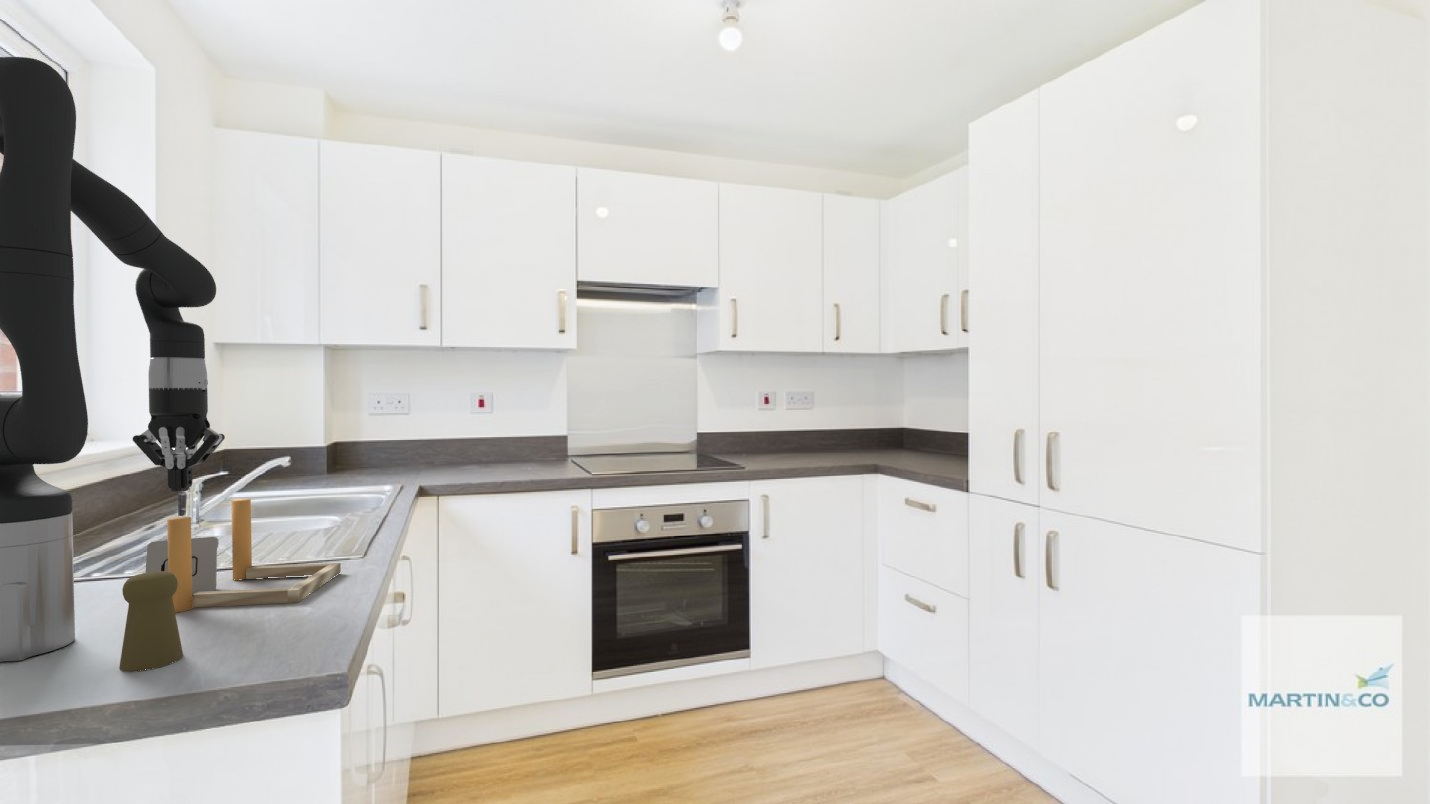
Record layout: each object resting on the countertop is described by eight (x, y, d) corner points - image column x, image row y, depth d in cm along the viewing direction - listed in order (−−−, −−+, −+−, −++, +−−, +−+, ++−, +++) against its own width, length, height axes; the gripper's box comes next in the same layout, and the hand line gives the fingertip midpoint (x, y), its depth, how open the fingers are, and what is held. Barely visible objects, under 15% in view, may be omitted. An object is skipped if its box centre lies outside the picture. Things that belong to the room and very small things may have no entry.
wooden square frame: (298, 602, 105) (297, 589, 105) (193, 607, 102) (192, 594, 102) (340, 573, 121) (340, 562, 121) (250, 577, 119) (250, 566, 119)
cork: (195, 651, 85) (193, 566, 85) (157, 671, 79) (155, 580, 79) (147, 652, 85) (145, 567, 85) (105, 672, 79) (103, 580, 79)
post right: (246, 580, 117) (245, 501, 117) (229, 580, 117) (227, 501, 116) (255, 575, 120) (253, 498, 120) (238, 576, 119) (236, 499, 119)
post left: (185, 612, 100) (183, 520, 100) (164, 613, 100) (162, 520, 100) (196, 606, 103) (195, 516, 103) (176, 607, 103) (175, 517, 102)
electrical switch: (142, 602, 105) (143, 543, 106) (153, 596, 110) (154, 539, 110) (214, 594, 109) (215, 537, 110) (222, 589, 114) (222, 534, 114)
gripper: (116, 386, 104) (118, 495, 104) (209, 385, 106) (211, 493, 106) (149, 386, 112) (151, 488, 112) (235, 386, 114) (237, 486, 114)
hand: (180, 491), depth 109 cm, fingers closed
